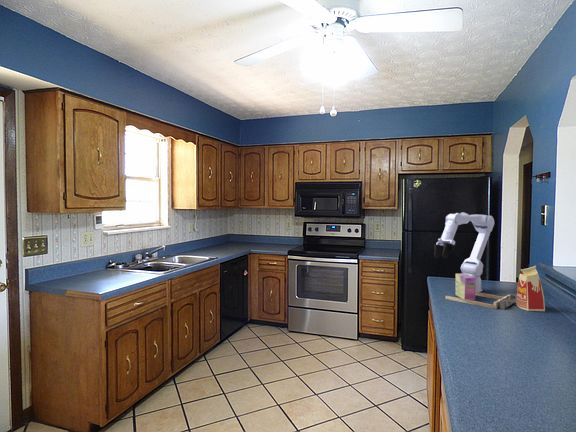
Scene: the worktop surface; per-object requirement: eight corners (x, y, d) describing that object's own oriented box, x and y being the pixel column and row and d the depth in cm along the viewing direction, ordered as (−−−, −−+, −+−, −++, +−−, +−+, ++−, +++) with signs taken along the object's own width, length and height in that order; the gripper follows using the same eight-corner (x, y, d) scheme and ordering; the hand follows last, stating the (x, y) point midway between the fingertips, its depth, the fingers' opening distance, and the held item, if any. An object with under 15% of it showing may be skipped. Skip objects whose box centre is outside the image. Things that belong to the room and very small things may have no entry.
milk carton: (533, 305, 168) (534, 264, 167) (546, 311, 159) (546, 267, 158) (513, 305, 169) (514, 264, 168) (524, 311, 160) (525, 267, 159)
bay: (461, 292, 194) (461, 285, 194) (518, 302, 173) (518, 294, 173) (445, 298, 182) (445, 291, 182) (504, 310, 161) (504, 302, 161)
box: (475, 300, 178) (475, 277, 178) (464, 300, 178) (464, 277, 178) (465, 294, 189) (465, 273, 188) (455, 295, 189) (455, 273, 188)
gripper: (434, 232, 192) (426, 255, 189) (449, 229, 178) (441, 253, 175) (445, 238, 192) (437, 260, 189) (462, 235, 178) (453, 259, 175)
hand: (439, 257), depth 182 cm, fingers open, 7 cm apart
